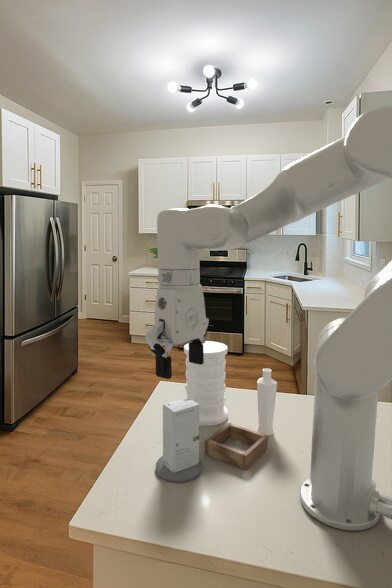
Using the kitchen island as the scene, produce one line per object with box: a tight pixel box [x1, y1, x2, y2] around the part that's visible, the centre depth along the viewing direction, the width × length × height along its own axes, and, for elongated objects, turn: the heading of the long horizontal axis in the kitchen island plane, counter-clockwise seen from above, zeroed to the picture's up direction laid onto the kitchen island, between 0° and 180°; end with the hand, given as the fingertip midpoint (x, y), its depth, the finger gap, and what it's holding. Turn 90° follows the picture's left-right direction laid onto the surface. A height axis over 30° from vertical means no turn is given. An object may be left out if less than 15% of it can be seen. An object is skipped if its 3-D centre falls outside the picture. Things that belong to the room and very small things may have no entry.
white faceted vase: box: [256, 368, 278, 437], centre depth 87 cm, size 5×4×15 cm
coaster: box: [155, 455, 203, 484], centre depth 74 cm, size 9×9×1 cm
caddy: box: [204, 422, 269, 471], centre depth 80 cm, size 10×10×3 cm
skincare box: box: [162, 398, 200, 473], centre depth 73 cm, size 6×4×12 cm
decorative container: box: [183, 340, 229, 427], centre depth 96 cm, size 12×12×18 cm
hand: (180, 369), depth 71 cm, fingers open, 9 cm apart
